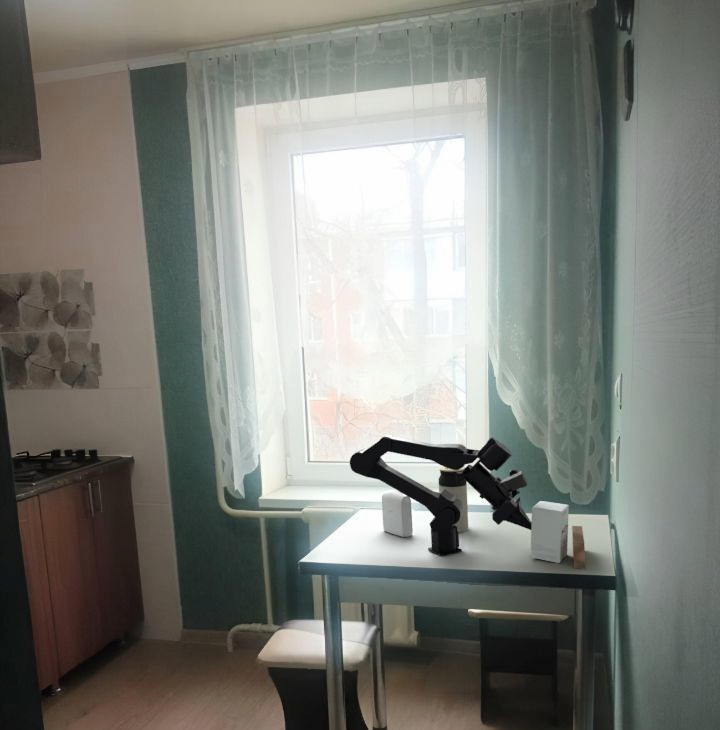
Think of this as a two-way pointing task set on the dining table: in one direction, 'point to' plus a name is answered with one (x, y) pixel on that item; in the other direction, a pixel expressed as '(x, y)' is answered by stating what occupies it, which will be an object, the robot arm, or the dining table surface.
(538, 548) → the supplement box
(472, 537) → the dining table surface
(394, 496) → the photo printer
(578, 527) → the board
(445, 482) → the travel mug
